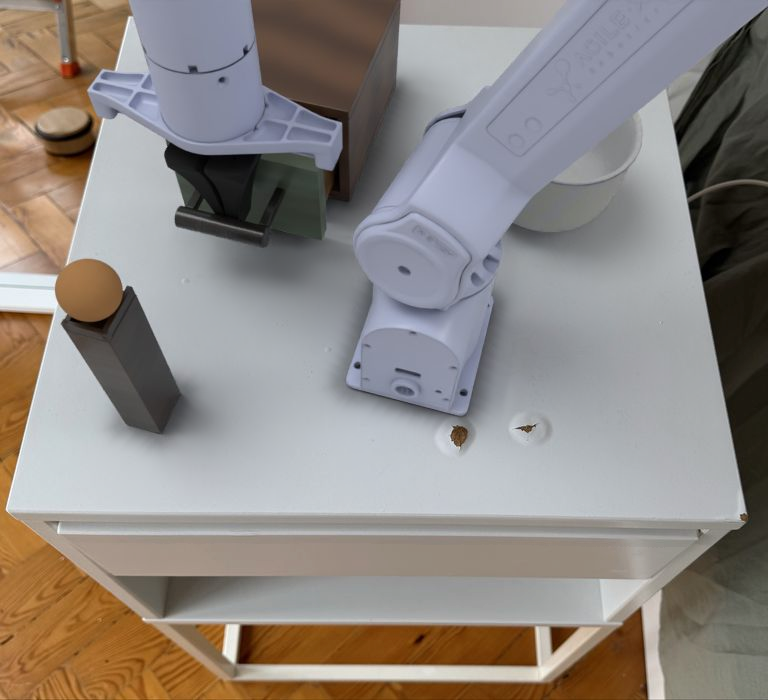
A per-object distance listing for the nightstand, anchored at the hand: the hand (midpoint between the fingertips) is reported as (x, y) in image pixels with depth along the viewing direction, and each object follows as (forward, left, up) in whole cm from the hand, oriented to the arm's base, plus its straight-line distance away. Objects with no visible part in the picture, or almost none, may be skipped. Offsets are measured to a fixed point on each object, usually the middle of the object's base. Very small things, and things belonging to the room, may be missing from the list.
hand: (236, 215), depth 49 cm
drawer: (+6, 0, -3) cm, 7 cm away
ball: (-13, +1, +9) cm, 16 cm away
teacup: (+11, -18, -4) cm, 22 cm away
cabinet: (+14, 0, -4) cm, 14 cm away
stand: (-13, +1, -4) cm, 14 cm away
